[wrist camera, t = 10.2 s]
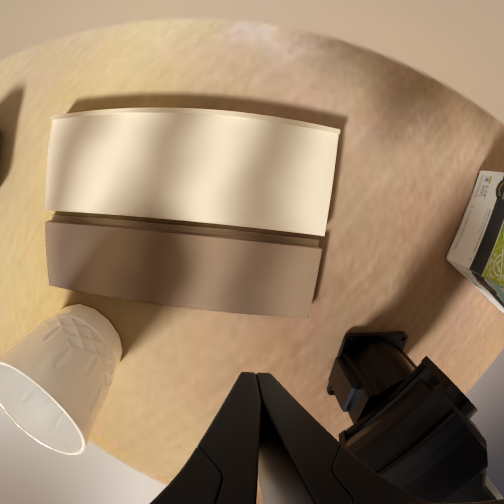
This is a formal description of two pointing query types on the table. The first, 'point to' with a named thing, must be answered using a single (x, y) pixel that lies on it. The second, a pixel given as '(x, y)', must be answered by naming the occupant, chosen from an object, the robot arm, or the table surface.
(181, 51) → the table surface
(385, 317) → the table surface
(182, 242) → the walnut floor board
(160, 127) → the pale oak plank
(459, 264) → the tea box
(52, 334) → the white cup
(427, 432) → the robot arm
